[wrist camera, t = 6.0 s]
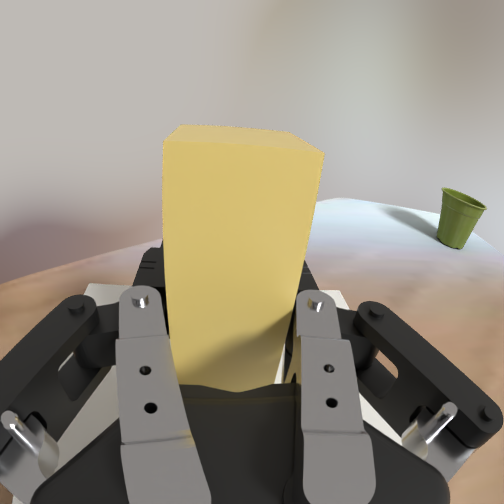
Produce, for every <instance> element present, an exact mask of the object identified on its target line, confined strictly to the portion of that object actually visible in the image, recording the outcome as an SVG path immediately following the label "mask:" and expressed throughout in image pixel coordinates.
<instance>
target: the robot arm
mask: <svg viewBox="0 0 504 504" xmlns="http://www.w3.org/2000/svg"><path fill="white" fill-rule="evenodd" d="M169 339H170V333H169V323H168V311H167V299H166V285H165V268H164V246H163V241H162V244H161V247H160V248H150V249H149V250H148V251H146V252H145V253H144V255H143V257H142V260H141V263H140V265H139V269H138V271H137V274H136V277H135V280H134V282H133V285H132V287H131V288H128V289H127V290H125V291H124V292H123V293H122V294H121V295H120V298H119V302H116V303H113V304H108V305H102V306H97V305H96V302H95V300H94V299H93V298H92V297H90V296H87V295H74V296H70V297H68V298H66V299H65V300H63V301H62V302H61V303H60V304H59V305H58V306H57V307H56V308H54V309H53V310H52V311H51V312H50V313H49V314H48V315H47V316H46V317H45V318H44V319H43V320H41V321H40V322H39V323H38V324H37V325H36V326H35V327H34V328H33V329H32V330H31V331H30V332H29V333H28V334H27V335H26V336H25V337H24V338H23V339H22V340H21V341H20V342H19V343H18V344H17V345H16V346H15V347H14V348H13V349H12V350H11V351H10V352H9V353H8V354H7V355H6V356H5V357H4V358H3V359H2V360H1V361H0V483H1V484H2V485H3V486H4V487H6V488H7V489H8V490H9V491H10V492H11V493H12V494H13V495H14V496H15V497H16V498H18V499H19V500H20V501H21V502H22V503H23V504H450V492H449V487H448V484H447V483H448V482H449V480H450V479H451V478H452V477H453V476H454V475H455V474H456V472H457V471H458V470H459V469H460V467H461V466H462V465H463V464H464V463H465V461H466V460H467V459H468V457H469V456H470V455H471V454H473V453H474V452H475V451H476V450H477V449H479V448H480V447H481V446H482V445H483V444H485V443H486V442H487V441H488V440H489V439H490V438H491V437H492V436H494V435H495V434H496V433H497V432H498V431H499V430H500V429H501V427H502V425H503V415H502V412H501V410H500V408H499V406H498V405H497V404H496V403H495V402H494V401H493V400H492V399H491V398H490V397H489V396H488V395H486V394H485V393H484V392H483V391H482V390H481V389H480V388H479V387H478V386H477V385H476V384H475V383H474V382H472V381H471V380H470V379H469V378H468V377H467V376H466V375H465V374H464V373H463V372H461V371H460V370H459V369H458V368H457V367H456V366H455V365H454V364H453V363H451V362H450V361H449V360H448V359H447V358H446V357H445V356H444V355H442V354H441V353H440V352H439V351H438V350H437V349H436V348H434V347H433V346H432V345H431V344H430V343H429V342H428V341H426V340H425V339H424V338H423V337H422V336H421V335H419V334H418V333H417V332H416V331H415V330H414V329H412V328H411V327H410V326H409V325H408V324H407V323H405V322H404V321H403V320H402V319H401V318H399V317H398V316H397V315H396V314H395V313H393V312H392V311H391V310H390V309H389V308H387V307H386V306H384V305H383V304H380V303H378V302H373V301H366V302H363V303H361V304H360V305H359V307H358V309H357V311H352V310H347V309H342V308H339V307H336V304H335V301H334V299H333V298H332V297H331V296H329V295H328V294H326V293H324V292H322V291H319V289H318V286H317V284H316V282H315V280H314V278H313V276H312V274H311V272H310V270H309V268H308V266H307V264H306V262H305V260H304V263H303V268H302V272H301V277H300V281H299V286H298V290H297V294H296V299H295V303H294V307H293V312H292V316H291V320H290V324H289V328H288V332H287V336H286V340H285V346H284V350H283V358H282V377H281V383H280V384H270V385H267V386H263V387H259V388H255V389H251V390H247V391H243V392H231V391H226V390H221V389H216V388H212V387H207V386H203V385H186V384H179V383H178V379H177V374H176V370H175V365H174V360H173V356H172V351H171V346H170V341H169ZM379 350H380V351H381V352H382V353H383V354H384V355H385V356H386V357H387V358H388V359H389V360H390V361H391V362H392V363H393V364H394V365H395V366H396V367H397V370H398V378H397V379H396V378H395V377H394V376H393V375H392V374H391V373H390V372H389V371H388V370H387V369H386V368H385V367H384V366H383V365H382V364H381V363H380V362H379V361H378V360H377V359H376V358H375V357H376V355H377V353H378V352H379ZM72 352H73V355H72V356H71V357H70V358H69V359H68V361H67V362H66V363H65V364H64V365H63V366H62V367H61V369H60V370H59V367H60V366H61V364H62V363H63V362H64V361H65V360H66V359H67V358H68V356H69V355H70V354H71V353H72ZM114 365H116V377H117V394H118V408H119V418H118V419H117V420H115V421H114V422H113V423H112V424H111V425H110V426H109V427H107V428H106V429H105V430H104V431H103V432H102V433H101V434H99V435H98V436H97V437H96V438H95V439H94V440H93V441H91V442H90V443H89V444H88V445H87V446H86V447H84V448H83V449H82V450H81V451H80V452H79V453H77V454H76V455H75V456H74V457H73V458H72V459H70V460H69V461H68V462H67V463H66V464H65V465H63V466H62V467H61V468H60V469H59V470H57V471H56V472H55V473H54V471H55V468H56V467H57V466H58V459H59V447H58V444H57V442H58V441H59V439H60V438H61V436H62V435H63V434H64V432H65V431H66V429H67V428H68V427H69V425H70V424H71V422H72V421H73V420H74V418H75V417H76V416H77V414H78V413H79V411H80V410H81V409H82V407H83V406H84V405H85V403H86V402H87V400H88V399H89V398H90V396H91V395H92V394H93V392H94V391H95V390H96V388H97V387H98V386H99V384H100V383H101V382H102V380H103V379H104V378H105V376H106V375H107V374H108V372H109V371H110V370H111V368H112V366H114ZM58 370H59V371H58ZM359 393H360V394H361V395H362V396H363V397H364V399H365V400H366V401H367V402H368V403H369V404H370V405H371V406H372V407H373V408H374V409H375V411H376V412H377V413H378V414H379V415H380V416H381V417H382V418H383V419H384V420H385V421H386V422H387V424H388V425H389V426H390V427H391V428H392V429H393V430H394V431H395V432H396V433H397V434H398V435H399V436H400V437H401V441H402V446H401V445H400V444H398V443H397V442H395V441H394V440H392V439H391V438H389V437H388V436H386V435H385V434H383V433H382V432H381V431H379V430H378V429H376V428H375V427H373V426H372V425H370V424H369V423H368V422H366V421H365V420H363V418H362V411H361V404H360V397H359Z"/></svg>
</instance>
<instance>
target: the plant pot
mask: <svg viewBox="0 0 504 504" xmlns="http://www.w3.org/2000/svg"><path fill="white" fill-rule="evenodd" d="M442 191H443V197H442V209H441V215H440V221H439V226H438V231H437V238H439V239H440V241H441V242H442V243H443V244H445V245H448V246H449V247H451V248H459V249H462V248H463V246H464V245H465V243H466V241H467V239H468V238H469V236H470V234H471V232H472V230H473V228H474V226H475V225H476V223H477V221H478V219H479V218H480V217H481V215H482V213H483V211H484V210H486V209H487V208H486V206H485V205H483V204H482V203H481V202H479V201H477V200H476V199H474V198H472V197H470V196H468V195H466V194H463V193H461V192H458V191H456V190H453V189H449V188H442Z"/></svg>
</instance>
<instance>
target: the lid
mask: <svg viewBox="0 0 504 504" xmlns="http://www.w3.org/2000/svg"><path fill="white" fill-rule="evenodd" d="M323 160H324V153H323V152H322V151H320V150H318V149H317V148H315V147H314V146H312V145H310V144H309V143H307V142H305V141H304V140H302V139H300V138H298V137H297V136H295V135H293V134H291V133H290V132H283V131H274V130H265V129H254V128H242V127H228V126H209V125H180V126H179V127H178V128H177V129H176V130H175V131H173V132H172V133H171V134H170V135H169V136H168V137H167V138H166V139H165V140H164V141H163V176H162V207H163V246H164V268H165V285H166V299H167V311H168V323H169V333H170V339H169V341H170V346H171V351H172V356H173V360H174V365H175V370H176V374H177V379H178V383H179V384H186V385H203V386H207V387H212V388H216V389H221V390H226V391H231V392H243V391H247V390H251V389H255V388H259V387H263V386H267V385H270V384H280V383H281V377H282V358H283V350H284V346H285V340H286V336H287V332H288V328H289V324H290V320H291V316H292V312H293V307H294V303H295V299H296V294H297V290H298V286H299V281H300V277H301V272H302V268H303V263H304V259H305V254H306V249H307V244H308V240H309V235H310V230H311V225H312V220H313V215H314V210H315V204H316V199H317V194H318V188H319V183H320V177H321V171H322V166H323ZM131 287H132V286H125V285H108V284H92V283H89V285H88V287H87V289H86V291H85V293H84V295H87V296H90V297H92V298H93V299H94V300H95V302H96V305H97V306H102V305H108V304H113V303H116V302H119V298H120V295H121V294H122V293H123V292H124V291H125V290H127V289H128V288H131ZM319 291H322V292H324V293H326V294H328V295H329V296H331V297H332V298H333V299H334V301H335V304H336V307H339V308H342V309H347V310H350V309H349V307H348V305H347V304H346V302H345V300H344V298H343V296H342V295H341V293H340V291H339V290H319ZM72 355H73V352H72V353H71V354H70V355H69V356H68V358H67V359H66V360H65V361H64V362H63V363H62V364H61V366H60V367H59V370H60V369H61V367H62V366H63V365H64V364H65V363H66V362H67V361H68V359H69V358H70V357H71V356H72ZM59 370H58V371H59ZM359 397H360V404H361V411H362V418H363V420H365V421H366V422H368V423H369V424H370V425H372V426H373V427H375V428H376V429H378V430H379V431H381V432H382V433H383V434H385V435H386V436H388V437H389V438H391V439H392V440H394V441H395V442H397V443H398V444H400V445H401V446H402V441H401V437H400V436H399V435H398V434H397V433H396V432H395V431H394V430H393V429H392V428H391V427H390V426H389V425H388V424H387V422H386V421H385V420H384V419H383V418H382V417H381V416H380V415H379V414H378V413H377V412H376V411H375V409H374V408H373V407H372V406H371V405H370V404H369V403H368V402H367V401H366V400H365V399H364V397H363V396H362V395H361V394H360V393H359ZM118 418H119V408H118V394H117V377H116V365H114V366H112V368H111V370H110V371H109V372H108V374H107V375H106V376H105V378H104V379H103V380H102V382H101V383H100V384H99V386H98V387H97V388H96V390H95V391H94V392H93V394H92V395H91V396H90V398H89V399H88V400H87V402H86V403H85V405H84V406H83V407H82V409H81V410H80V411H79V413H78V414H77V416H76V417H75V418H74V420H73V421H72V422H71V424H70V425H69V427H68V428H67V429H66V431H65V432H64V434H63V435H62V436H61V438H60V439H59V441H58V442H57V444H58V447H59V459H58V466H57V467H56V468H55V471H54V473H55V472H56V471H57V470H59V469H60V468H61V467H62V466H63V465H65V464H66V463H67V462H68V461H69V460H70V459H72V458H73V457H74V456H75V455H76V454H77V453H79V452H80V451H81V450H82V449H83V448H84V447H86V446H87V445H88V444H89V443H90V442H91V441H93V440H94V439H95V438H96V437H97V436H98V435H99V434H101V433H102V432H103V431H104V430H105V429H106V428H107V427H109V426H110V425H111V424H112V423H113V422H114V421H115V420H117V419H118ZM12 504H23V503H22V502H21V501H20V500H19V499H18V498H16V497H15V496H14V495H13V501H12Z"/></svg>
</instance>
